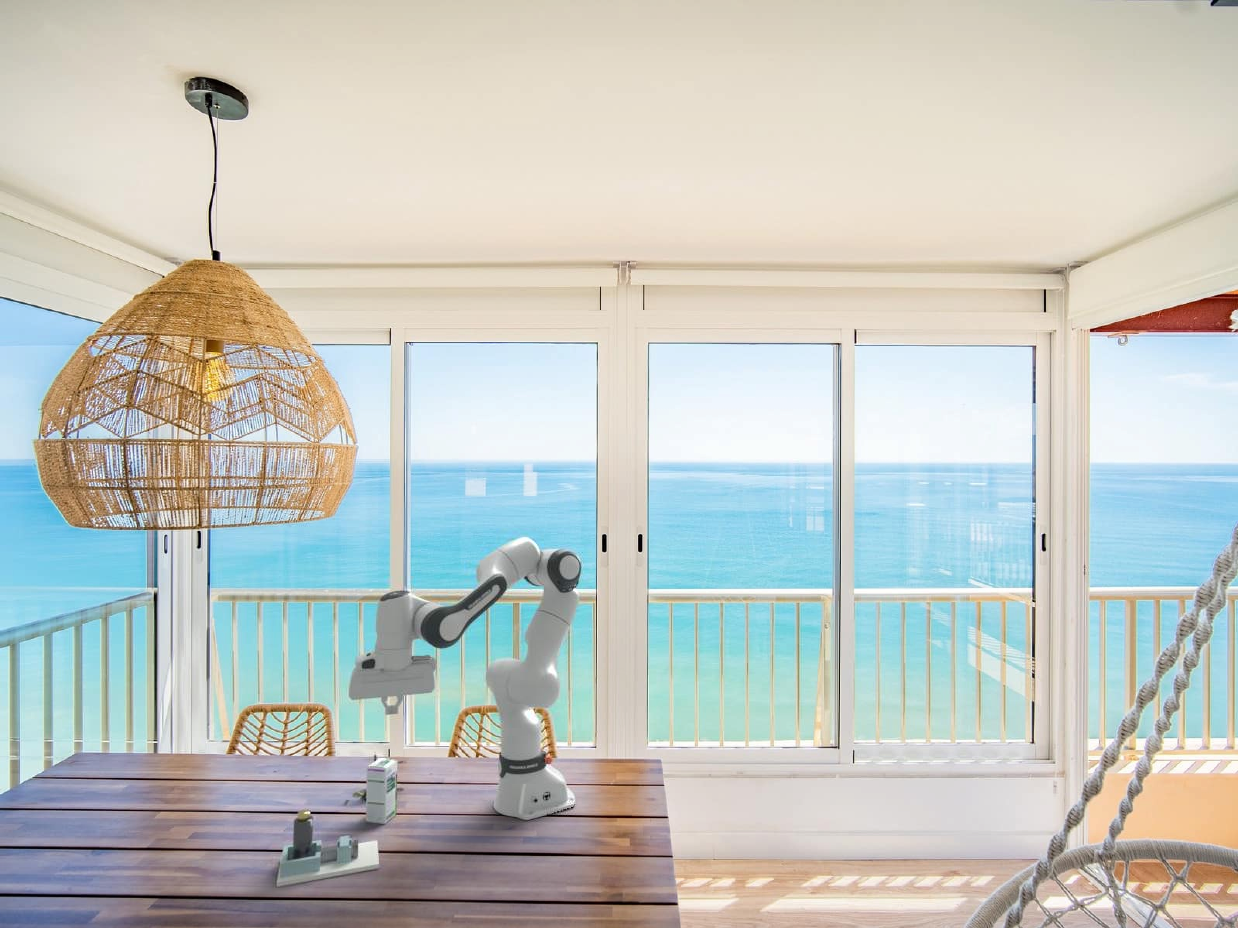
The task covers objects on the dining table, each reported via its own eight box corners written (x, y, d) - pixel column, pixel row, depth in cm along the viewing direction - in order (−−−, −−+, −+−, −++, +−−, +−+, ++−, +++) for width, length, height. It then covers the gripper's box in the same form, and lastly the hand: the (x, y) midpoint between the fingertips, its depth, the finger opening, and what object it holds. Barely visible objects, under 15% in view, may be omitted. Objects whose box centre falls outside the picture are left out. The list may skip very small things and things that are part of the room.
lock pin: (357, 851, 159) (358, 839, 159) (357, 857, 156) (358, 844, 156) (320, 857, 156) (321, 845, 156) (320, 863, 153) (320, 851, 153)
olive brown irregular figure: (405, 789, 195) (407, 743, 196) (398, 806, 185) (400, 757, 186) (352, 791, 193) (353, 744, 194) (342, 808, 183) (343, 758, 184)
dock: (377, 844, 164) (377, 824, 164) (379, 868, 154) (379, 847, 154) (281, 860, 156) (282, 839, 156) (276, 887, 146) (277, 864, 146)
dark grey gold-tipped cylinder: (312, 859, 155) (314, 807, 156) (309, 868, 152) (312, 815, 152) (293, 861, 154) (295, 809, 155) (290, 870, 150) (292, 817, 151)
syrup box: (385, 824, 174) (387, 767, 174) (364, 822, 175) (366, 765, 176) (396, 814, 179) (398, 759, 180) (376, 811, 181) (378, 757, 181)
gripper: (434, 651, 174) (433, 705, 173) (349, 657, 166) (347, 714, 166) (437, 657, 168) (436, 713, 168) (349, 663, 161) (347, 722, 160)
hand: (391, 713), depth 167 cm, fingers closed
